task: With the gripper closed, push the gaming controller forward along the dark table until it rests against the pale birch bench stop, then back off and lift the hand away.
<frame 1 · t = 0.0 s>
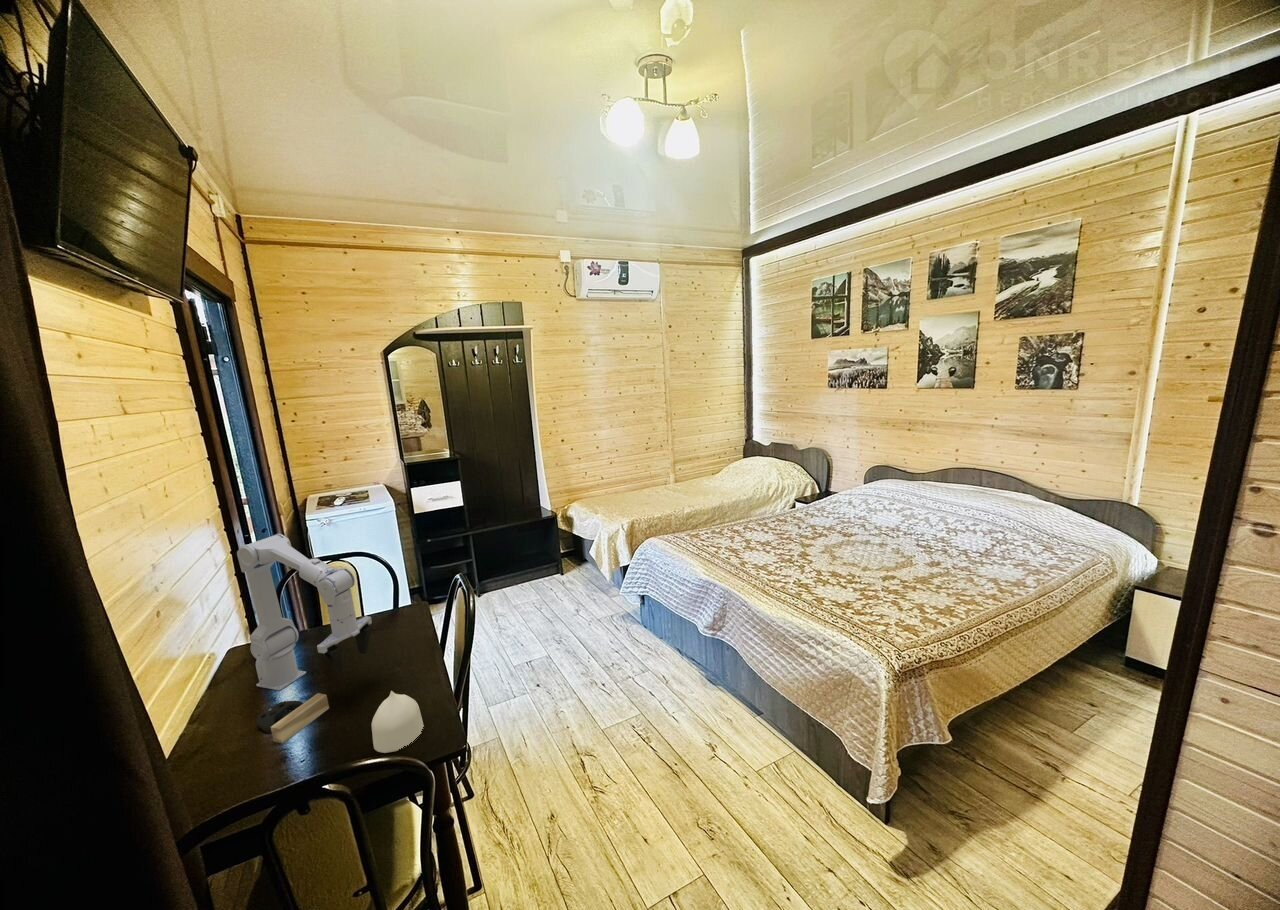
hand: (351, 661, 123), 10 cm above the table, fingers open, 7 cm apart
gaming controller: (279, 720, 118), on the table
bench stop: (302, 724, 115), on the table
teardrop: (399, 735, 110), on the table
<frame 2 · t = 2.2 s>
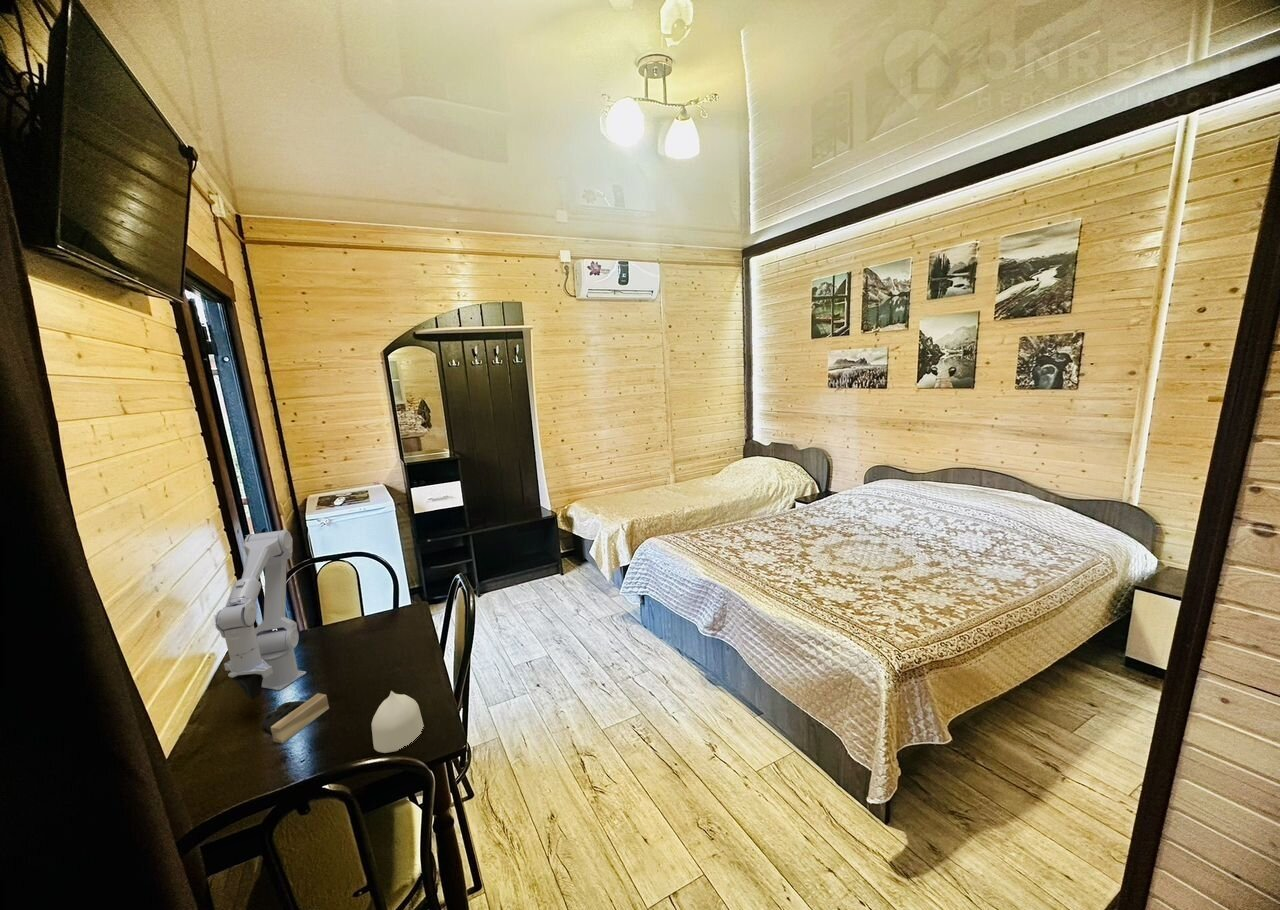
hand: (254, 696, 119), 5 cm above the table, fingers closed
gaming controller: (285, 721, 117), on the table
everything else where it was.
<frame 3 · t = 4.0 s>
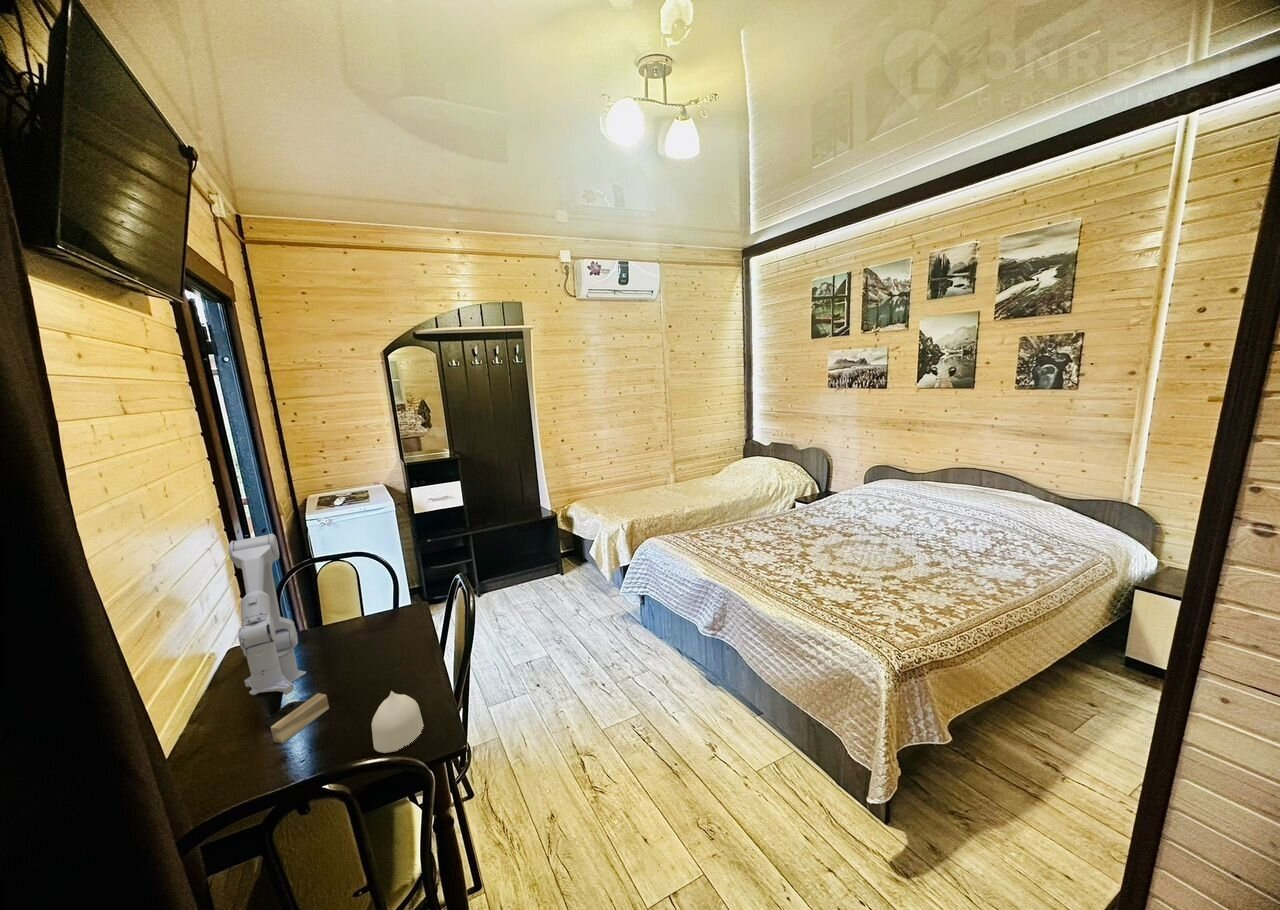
hand: (275, 713, 118), 1 cm above the table, fingers closed, pressing on gaming controller
gaming controller: (289, 720, 117), on the table, touching bench stop, gripper
everything else where it was.
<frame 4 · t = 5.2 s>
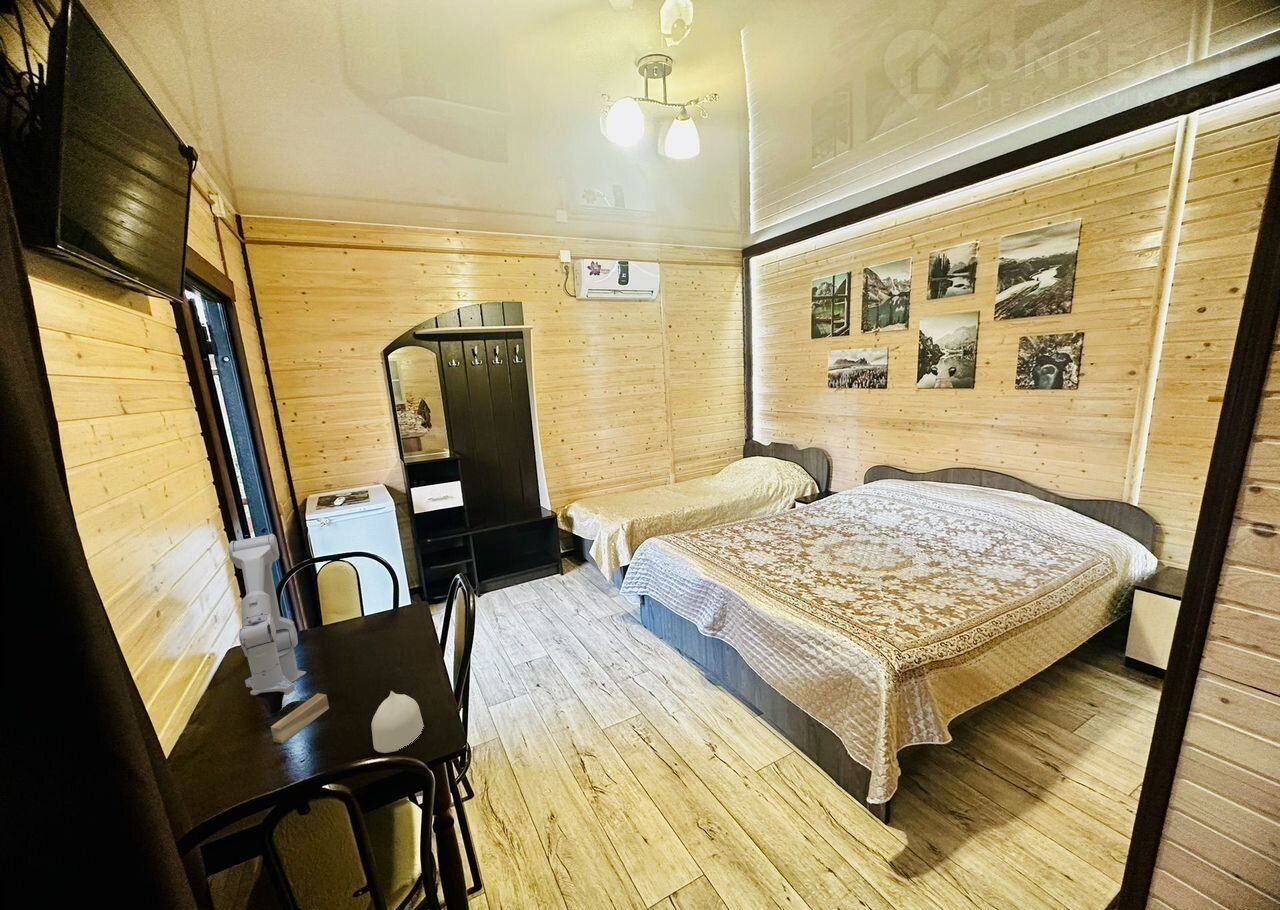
hand: (276, 713, 118), 1 cm above the table, fingers closed, pressing on gaming controller
gaming controller: (291, 720, 117), on the table, touching bench stop, gripper
everything else where it was.
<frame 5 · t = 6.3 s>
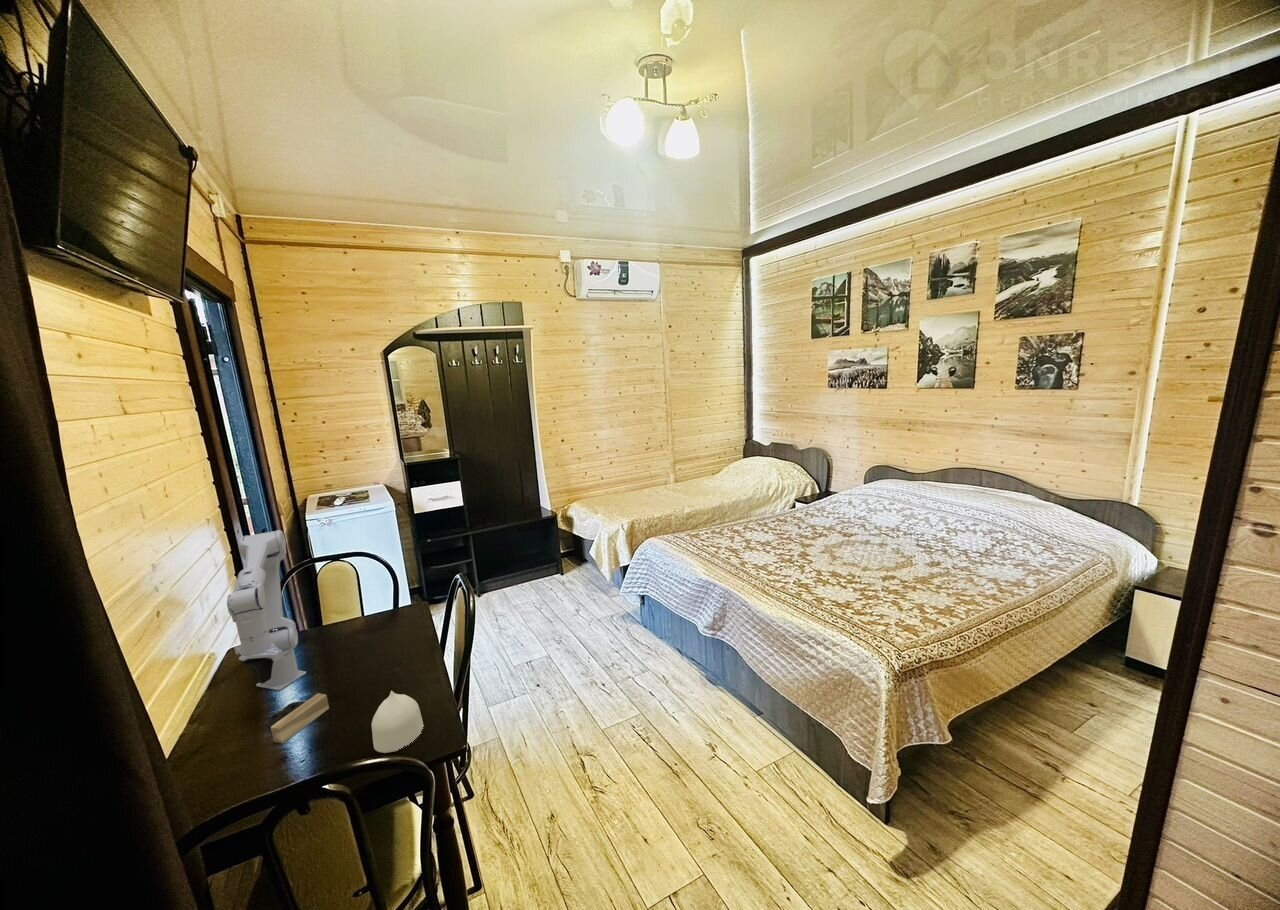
hand: (265, 680, 119), 9 cm above the table, fingers closed
gaming controller: (291, 721, 117), on the table
everything else where it was.
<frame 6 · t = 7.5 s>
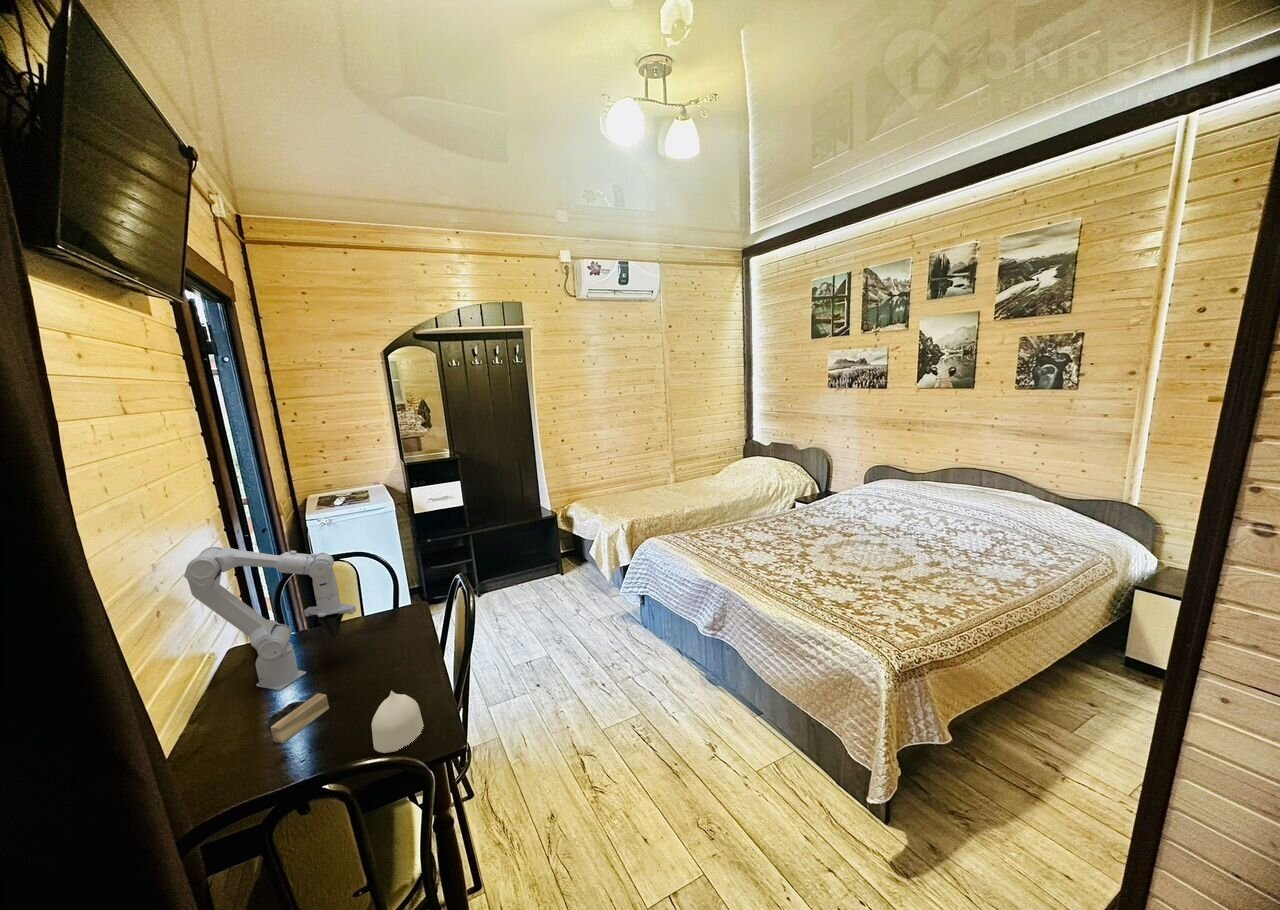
hand: (335, 635, 138), 9 cm above the table, fingers closed
nothing on the table moved.
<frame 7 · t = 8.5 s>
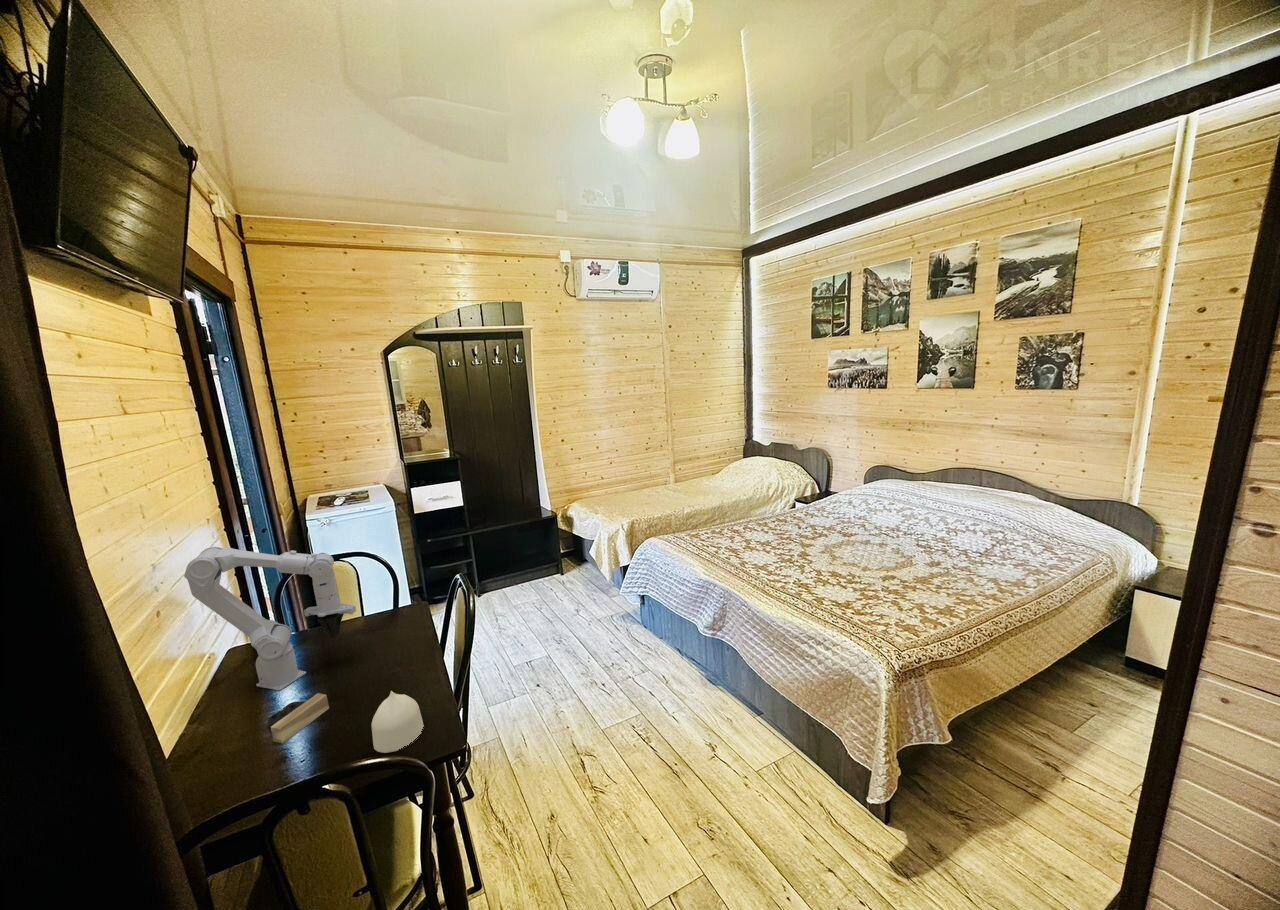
hand: (335, 635, 138), 9 cm above the table, fingers closed
nothing on the table moved.
at the end: gaming controller inside the target area on the table beside the bench stop (0.4 cm from its centre), on the table; gaming controller moved 3.7 cm from its start; the gripper is holding nothing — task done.
